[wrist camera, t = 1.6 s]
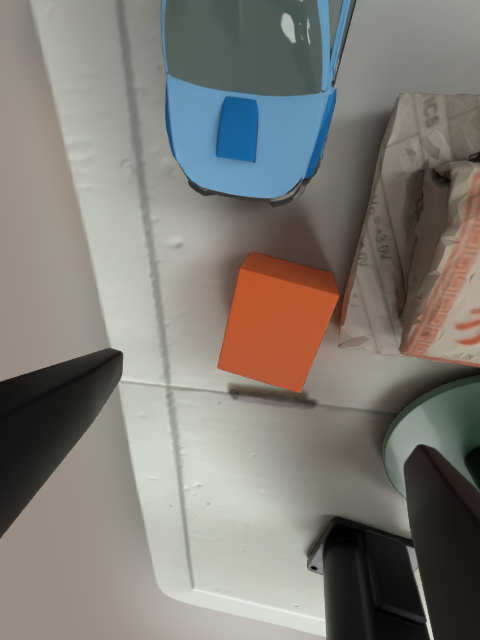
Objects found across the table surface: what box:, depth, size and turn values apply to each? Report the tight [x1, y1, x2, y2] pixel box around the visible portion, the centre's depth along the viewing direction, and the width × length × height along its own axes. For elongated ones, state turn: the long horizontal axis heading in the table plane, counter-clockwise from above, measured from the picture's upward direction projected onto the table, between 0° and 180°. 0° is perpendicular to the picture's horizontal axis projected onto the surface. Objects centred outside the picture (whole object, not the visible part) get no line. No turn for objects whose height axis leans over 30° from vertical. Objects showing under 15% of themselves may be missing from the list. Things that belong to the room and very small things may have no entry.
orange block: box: [217, 251, 339, 393], centre depth 14 cm, size 5×4×3 cm
